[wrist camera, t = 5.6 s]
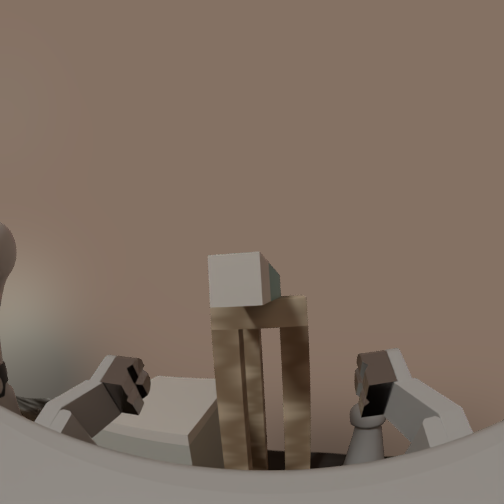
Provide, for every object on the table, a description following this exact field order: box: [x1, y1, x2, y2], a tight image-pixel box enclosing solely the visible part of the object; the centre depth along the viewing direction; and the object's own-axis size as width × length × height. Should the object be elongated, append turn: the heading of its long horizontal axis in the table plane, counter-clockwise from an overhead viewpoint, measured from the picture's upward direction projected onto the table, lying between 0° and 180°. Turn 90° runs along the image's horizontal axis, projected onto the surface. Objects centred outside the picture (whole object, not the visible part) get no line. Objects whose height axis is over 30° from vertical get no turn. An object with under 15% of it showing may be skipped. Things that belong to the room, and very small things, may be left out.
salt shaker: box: [343, 403, 386, 466], centre depth 27 cm, size 6×6×13 cm
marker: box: [208, 252, 281, 308], centre depth 23 cm, size 2×20×2 cm, turn 172°
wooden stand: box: [210, 295, 311, 470], centre depth 26 cm, size 7×14×26 cm, turn 172°
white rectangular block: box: [92, 376, 225, 469], centre depth 26 cm, size 10×16×16 cm, turn 172°
